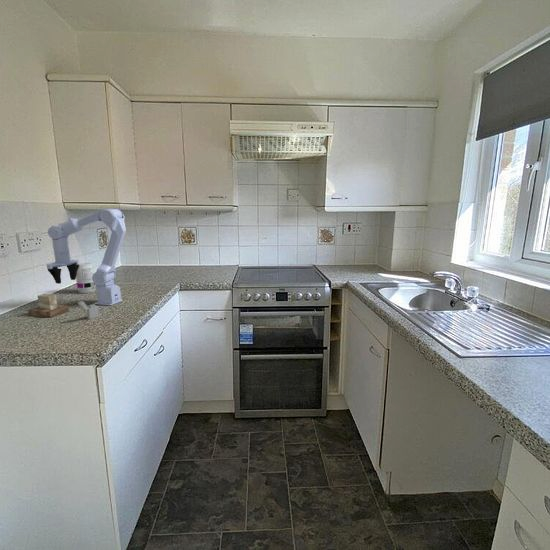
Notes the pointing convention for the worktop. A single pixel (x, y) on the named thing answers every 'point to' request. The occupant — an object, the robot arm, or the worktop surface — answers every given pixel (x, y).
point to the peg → (47, 301)
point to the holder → (48, 311)
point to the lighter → (90, 310)
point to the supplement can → (85, 278)
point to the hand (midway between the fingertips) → (66, 281)
